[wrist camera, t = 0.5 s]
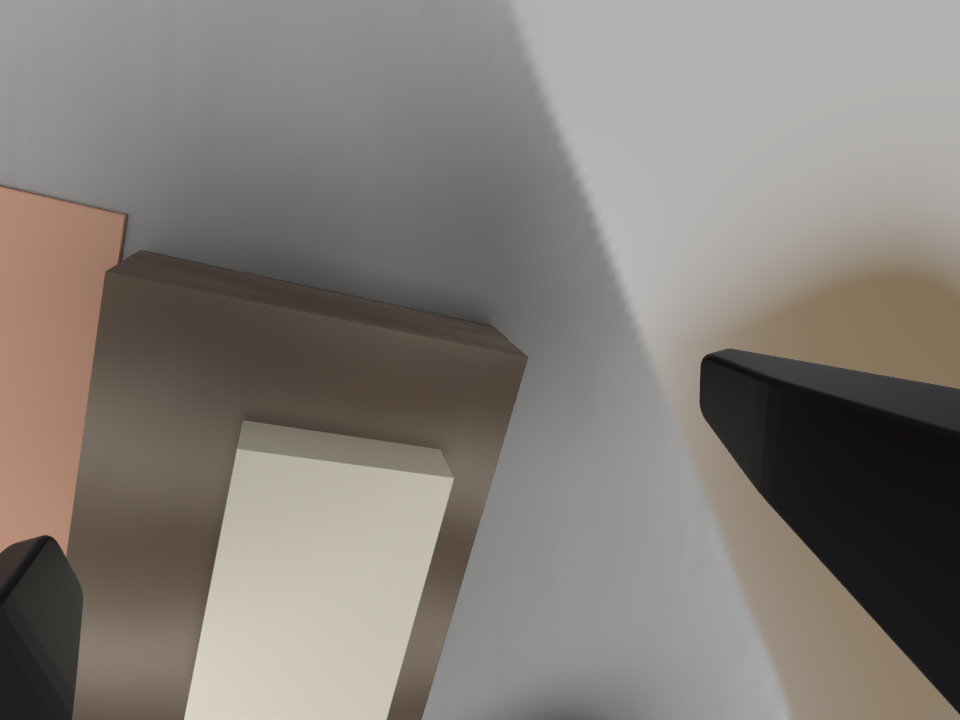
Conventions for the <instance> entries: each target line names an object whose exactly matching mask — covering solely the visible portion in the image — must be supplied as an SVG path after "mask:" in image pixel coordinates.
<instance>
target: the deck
mask: <svg viewBox="0 0 960 720" xmlns="http://www.w3.org/2000/svg"><path fill="white" fill-rule="evenodd" d="M527 359H528V357H527V356H526V355H525V354H524V353H523V352H521V351H520V350H519V349H518V348H517V347H516V346H515V345H514V344H512V343H511V342H510V341H509V340H508V339H507V338H506V337H505V336H503V335H502V334H501V333H500V332H499V331H498V330H497V329H496V328H494V327H493V326H488V325H484V324H479V323H474V322H470V321H465V320H461V319H456V318H451V317H447V316H442V315H437V314H433V313H428V312H423V311H419V310H414V309H410V308H405V307H400V306H396V305H391V304H386V303H382V302H377V301H372V300H368V299H363V298H358V297H354V296H349V295H345V294H340V293H335V292H331V291H326V290H321V289H317V288H312V287H307V286H303V285H298V284H294V283H289V282H284V281H280V280H275V279H270V278H266V277H261V276H256V275H252V274H247V273H243V272H238V271H233V270H229V269H224V268H219V267H215V266H210V265H205V264H201V263H196V262H192V261H187V260H182V259H178V258H173V257H168V256H164V255H159V254H154V253H150V252H145V251H141V250H140V251H138V252H136V253H135V254H133V255H132V256H130V257H128V258H127V259H125V260H123V261H122V262H120V263H118V264H117V265H115V266H113V267H112V268H110V269H109V270H107V271H105V277H104V284H103V292H102V299H101V306H100V313H99V321H98V328H97V335H96V343H95V350H94V357H93V365H92V372H91V379H90V386H89V394H88V401H87V408H86V416H85V423H84V430H83V438H82V445H81V452H80V459H79V467H78V474H77V481H76V489H75V496H74V503H73V511H72V518H71V525H70V532H69V540H68V547H67V554H66V558H67V560H68V561H69V563H70V565H71V567H72V569H73V570H74V572H75V574H76V576H77V578H78V579H79V581H80V584H81V586H82V590H83V597H84V604H83V615H82V627H81V638H80V650H79V661H78V672H77V684H76V695H75V704H74V712H73V719H72V720H184V717H185V712H186V707H187V702H188V697H189V692H190V687H191V682H192V676H193V671H194V666H195V661H196V656H197V651H198V646H199V641H200V635H201V630H202V625H203V620H204V615H205V610H206V605H207V600H208V595H209V589H210V584H211V579H212V574H213V569H214V564H215V559H216V554H217V549H218V543H219V538H220V533H221V528H222V523H223V518H224V513H225V508H226V503H227V497H228V492H229V487H230V482H231V477H232V472H233V467H234V462H235V457H236V451H237V446H238V442H239V437H240V432H241V427H242V423H243V420H245V421H252V422H258V423H265V424H272V425H279V426H285V427H292V428H299V429H306V430H312V431H319V432H326V433H333V434H340V435H346V436H353V437H360V438H367V439H373V440H380V441H387V442H394V443H400V444H407V445H414V446H421V447H427V448H434V449H440V450H441V452H442V454H443V456H444V458H445V460H446V462H447V464H448V466H449V468H450V471H451V473H452V475H453V477H454V480H453V484H452V487H451V491H450V495H449V498H448V502H447V505H446V509H445V512H444V516H443V520H442V523H441V527H440V530H439V534H438V537H437V541H436V545H435V548H434V552H433V555H432V559H431V562H430V566H429V570H428V573H427V577H426V580H425V584H424V587H423V591H422V595H421V598H420V602H419V605H418V609H417V612H416V616H415V620H414V623H413V627H412V630H411V634H410V637H409V641H408V645H407V648H406V652H405V655H404V659H403V662H402V666H401V670H400V673H399V677H398V680H397V684H396V687H395V691H394V695H393V698H392V702H391V705H390V709H389V712H388V716H387V720H421V719H422V716H423V712H424V709H425V706H426V702H427V699H428V695H429V692H430V689H431V685H432V682H433V678H434V675H435V672H436V668H437V665H438V662H439V658H440V655H441V651H442V648H443V645H444V641H445V638H446V634H447V631H448V628H449V624H450V621H451V617H452V614H453V611H454V607H455V604H456V600H457V597H458V594H459V590H460V587H461V583H462V580H463V577H464V573H465V570H466V566H467V563H468V560H469V556H470V553H471V550H472V546H473V543H474V539H475V536H476V533H477V529H478V526H479V522H480V519H481V516H482V512H483V509H484V505H485V502H486V499H487V495H488V492H489V488H490V485H491V482H492V478H493V475H494V471H495V468H496V465H497V461H498V458H499V454H500V451H501V448H502V444H503V441H504V437H505V434H506V431H507V427H508V424H509V421H510V417H511V414H512V410H513V407H514V404H515V400H516V397H517V393H518V390H519V387H520V383H521V380H522V376H523V373H524V370H525V366H526V363H527Z"/></svg>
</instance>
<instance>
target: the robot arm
mask: <svg viewBox="0 0 960 720" xmlns="http://www.w3.org/2000/svg"><path fill="white" fill-rule="evenodd" d="M700 408H701V412H702V414H703V416H704V418H705V420H706V421H707V422H708V424H709V425H710V427H711V428H712V429H713V431H714V432H715V433H716V435H717V436H718V438H719V439H720V440H721V442H722V443H723V444H724V446H725V447H726V448H727V450H728V451H729V453H730V454H731V455H732V457H733V458H734V459H735V461H736V462H737V463H738V465H739V466H740V468H741V469H742V470H743V472H744V473H745V475H746V476H747V477H748V479H749V480H750V481H751V482H752V484H753V485H754V486H755V487H756V489H757V490H758V492H759V493H760V494H761V495H762V496H763V497H764V499H765V500H766V501H767V502H768V503H769V504H770V506H771V507H772V508H773V509H774V510H775V511H776V512H777V513H778V514H779V516H780V517H781V518H782V519H783V520H784V521H785V522H786V523H787V524H788V525H789V527H790V528H791V529H792V530H793V531H794V532H795V533H796V534H797V535H798V536H799V537H800V539H801V540H802V541H803V542H804V543H805V544H806V545H807V546H808V548H810V550H811V551H812V552H813V553H814V554H815V555H816V556H817V557H818V558H819V560H820V561H821V562H822V563H823V564H824V565H825V566H826V567H827V568H828V570H830V572H831V573H832V574H833V575H834V576H835V577H836V578H837V580H838V581H839V582H840V583H841V584H842V585H843V586H844V587H845V588H846V589H847V591H848V592H849V593H850V594H851V595H852V596H853V597H854V598H855V599H856V600H857V602H858V603H859V604H860V605H861V606H862V607H863V608H864V609H865V610H866V611H867V613H868V614H869V615H870V616H871V617H872V618H873V619H874V620H875V621H876V622H877V624H878V625H879V626H880V627H881V628H882V629H883V630H884V631H885V632H886V633H887V635H888V636H889V637H890V638H891V639H892V640H893V641H894V642H895V644H896V645H897V646H898V647H899V648H900V649H901V650H902V651H903V652H904V653H905V655H906V656H907V657H908V658H909V659H910V660H911V661H912V662H913V663H914V664H915V665H916V667H917V668H918V669H919V670H920V671H921V672H922V673H923V674H924V675H925V677H926V678H927V679H928V680H929V681H930V682H931V683H932V684H933V685H934V686H935V688H936V689H937V690H938V691H939V692H940V693H941V694H942V695H943V696H944V698H946V700H947V701H948V702H949V703H950V704H951V705H952V706H953V707H954V709H955V710H956V711H957V712H958V713H959V714H960V389H957V388H952V387H946V386H940V385H934V384H929V383H923V382H917V381H912V380H906V379H900V378H895V377H889V376H883V375H878V374H872V373H866V372H861V371H855V370H849V369H844V368H838V367H832V366H826V365H821V364H815V363H810V362H804V361H798V360H793V359H786V358H781V357H776V356H770V355H764V354H759V353H753V352H747V351H742V350H736V349H725V350H721V351H718V352H714V353H710V354H707V355H706V356H705V357H704V358H703V359H702V362H701V374H700ZM83 604H84V597H83V590H82V586H81V584H80V581H79V579H78V578H77V576H76V574H75V572H74V570H73V569H72V567H71V565H70V563H69V561H68V560H67V558H66V556H65V554H64V552H63V551H62V549H61V547H60V545H59V544H58V542H57V541H56V540H55V539H54V538H53V537H51V536H48V535H43V536H38V537H35V538H31V539H27V540H24V541H20V542H16V543H14V544H12V545H10V546H8V547H7V548H6V549H4V550H3V551H2V552H1V553H0V720H72V719H73V712H74V704H75V695H76V684H77V672H78V661H79V650H80V638H81V627H82V615H83Z"/></svg>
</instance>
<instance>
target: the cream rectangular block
mask: <svg viewBox="0 0 960 720" xmlns="http://www.w3.org/2000/svg"><path fill="white" fill-rule="evenodd" d="M453 480H454V477H453V475H452V473H451V471H450V468H449V466H448V464H447V462H446V460H445V458H444V456H443V454H442V452H441V450H440V449H434V448H427V447H421V446H414V445H407V444H400V443H394V442H387V441H380V440H373V439H367V438H360V437H353V436H346V435H340V434H333V433H326V432H319V431H312V430H306V429H299V428H292V427H285V426H279V425H272V424H265V423H258V422H252V421H245V420H243V423H242V427H241V432H240V437H239V442H238V446H237V451H236V457H235V462H234V467H233V472H232V477H231V482H230V487H229V492H228V497H227V503H226V508H225V513H224V518H223V523H222V528H221V533H220V538H219V543H218V549H217V554H216V559H215V564H214V569H213V574H212V579H211V584H210V589H209V595H208V600H207V605H206V610H205V615H204V620H203V625H202V630H201V635H200V641H199V646H198V651H197V656H196V661H195V666H194V671H193V676H192V682H191V687H190V692H189V697H188V702H187V707H186V712H185V717H184V720H387V716H388V712H389V709H390V705H391V702H392V698H393V695H394V691H395V687H396V684H397V680H398V677H399V673H400V670H401V666H402V662H403V659H404V655H405V652H406V648H407V645H408V641H409V637H410V634H411V630H412V627H413V623H414V620H415V616H416V612H417V609H418V605H419V602H420V598H421V595H422V591H423V587H424V584H425V580H426V577H427V573H428V570H429V566H430V562H431V559H432V555H433V552H434V548H435V545H436V541H437V537H438V534H439V530H440V527H441V523H442V520H443V516H444V512H445V509H446V505H447V502H448V498H449V495H450V491H451V487H452V484H453Z"/></svg>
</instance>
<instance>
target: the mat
mask: <svg viewBox="0 0 960 720" xmlns="http://www.w3.org/2000/svg"><path fill="white" fill-rule="evenodd" d="M126 217H127V215H125V214H121V213H117V212H112V211H108V210H104V209H99V208H95V207H91V206H86V205H82V204H77V203H73V202H69V201H64V200H60V199H56V198H51V197H47V196H43V195H38V194H34V193H30V192H25V191H21V190H17V189H12V188H8V187H4V186H0V553H1V552H2V551H3V550H4V549H6V548H7V547H8V546H10V545H12V544H14V543H16V542H20V541H24V540H27V539H31V538H35V537H38V536H43V535H48V536H51V537H53V538H54V539H55V540H56V541H57V542H58V544H59V545H60V547H61V549H62V551H63V552H64V554H65V556H66V554H67V547H68V540H69V532H70V525H71V518H72V511H73V503H74V496H75V489H76V481H77V474H78V467H79V459H80V452H81V445H82V438H83V430H84V423H85V416H86V408H87V401H88V394H89V386H90V379H91V372H92V365H93V357H94V350H95V343H96V335H97V328H98V321H99V313H100V306H101V299H102V292H103V284H104V277H105V271H107V270H109V269H110V268H112V267H113V266H115V265H117V264H118V263H120V260H121V253H122V246H123V239H124V232H125V224H126Z"/></svg>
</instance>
